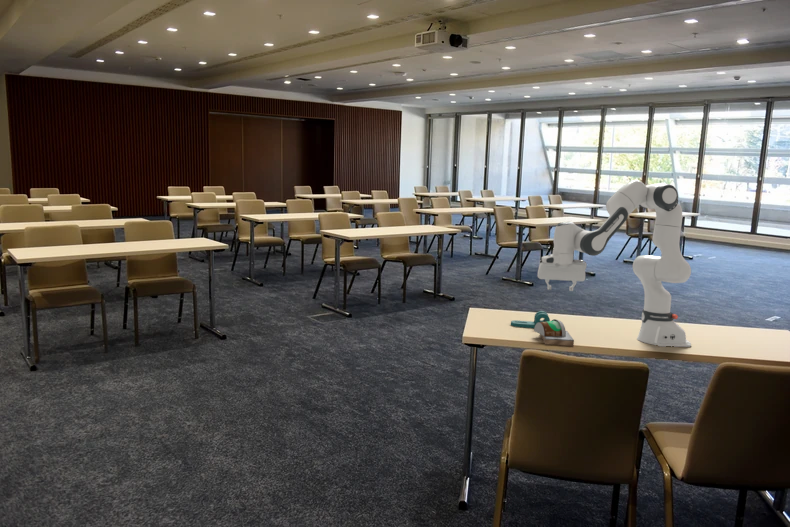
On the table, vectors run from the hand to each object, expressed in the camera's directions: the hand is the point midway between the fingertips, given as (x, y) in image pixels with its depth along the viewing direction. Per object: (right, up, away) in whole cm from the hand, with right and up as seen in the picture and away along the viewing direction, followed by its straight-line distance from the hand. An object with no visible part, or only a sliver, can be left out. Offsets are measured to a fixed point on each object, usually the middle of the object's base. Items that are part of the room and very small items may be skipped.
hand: (560, 290), depth 267 cm
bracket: (-7, -20, +27) cm, 34 cm away
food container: (-9, -16, +3) cm, 19 cm away
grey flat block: (-1, -23, +3) cm, 23 cm away
